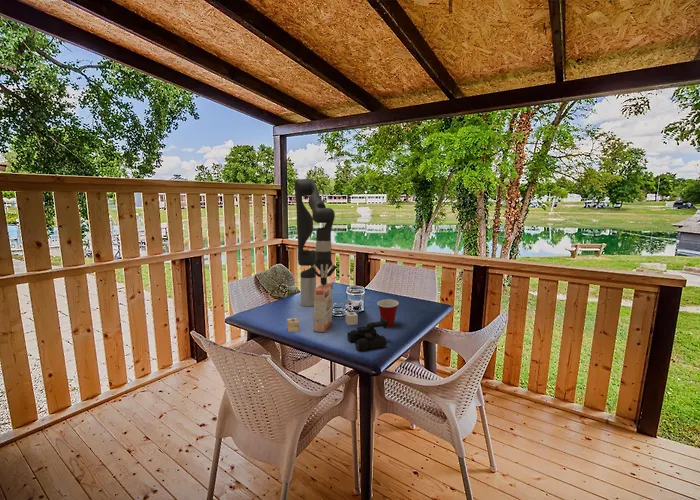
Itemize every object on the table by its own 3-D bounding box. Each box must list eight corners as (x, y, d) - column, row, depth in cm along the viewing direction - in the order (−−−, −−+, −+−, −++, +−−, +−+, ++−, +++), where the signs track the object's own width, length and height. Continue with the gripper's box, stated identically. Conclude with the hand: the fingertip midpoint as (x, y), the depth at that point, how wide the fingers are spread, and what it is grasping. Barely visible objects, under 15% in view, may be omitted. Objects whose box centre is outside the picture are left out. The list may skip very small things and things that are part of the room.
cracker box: (325, 333, 154) (325, 290, 151) (313, 331, 155) (313, 289, 152) (332, 322, 167) (333, 283, 164) (321, 321, 168) (321, 282, 165)
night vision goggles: (346, 339, 147) (347, 318, 145) (378, 335, 153) (378, 314, 151) (359, 353, 134) (359, 330, 132) (392, 347, 140) (393, 325, 138)
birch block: (287, 328, 159) (287, 318, 158) (297, 327, 160) (297, 317, 159) (288, 332, 154) (288, 322, 153) (299, 331, 155) (298, 321, 155)
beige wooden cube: (345, 321, 169) (345, 312, 168) (354, 321, 170) (354, 311, 169) (348, 325, 164) (348, 315, 163) (357, 324, 165) (357, 314, 165)
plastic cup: (372, 322, 168) (373, 300, 166) (391, 320, 172) (391, 298, 170) (383, 330, 158) (383, 306, 156) (402, 327, 162) (403, 304, 160)
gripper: (335, 248, 161) (335, 282, 163) (308, 249, 157) (309, 283, 160) (338, 250, 154) (338, 286, 156) (311, 251, 150) (311, 287, 153)
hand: (323, 284), depth 158 cm, fingers closed
